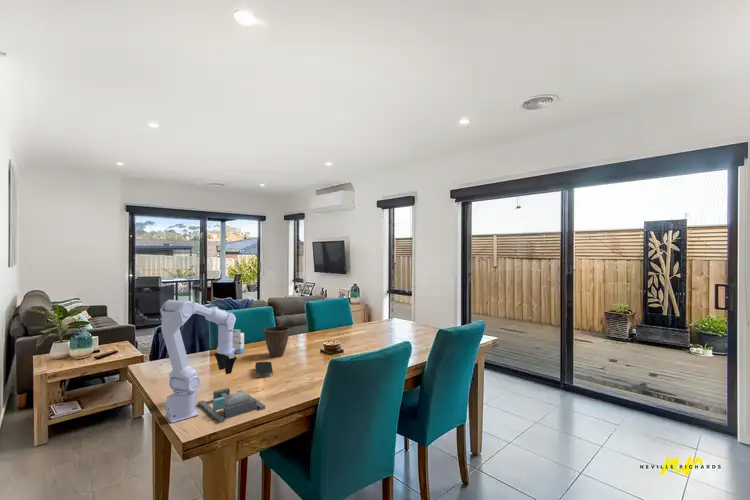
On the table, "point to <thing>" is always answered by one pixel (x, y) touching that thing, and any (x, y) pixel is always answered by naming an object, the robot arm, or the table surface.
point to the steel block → (235, 399)
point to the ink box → (238, 341)
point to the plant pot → (276, 340)
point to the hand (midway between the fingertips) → (225, 371)
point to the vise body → (232, 409)
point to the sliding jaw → (219, 398)
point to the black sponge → (263, 369)
